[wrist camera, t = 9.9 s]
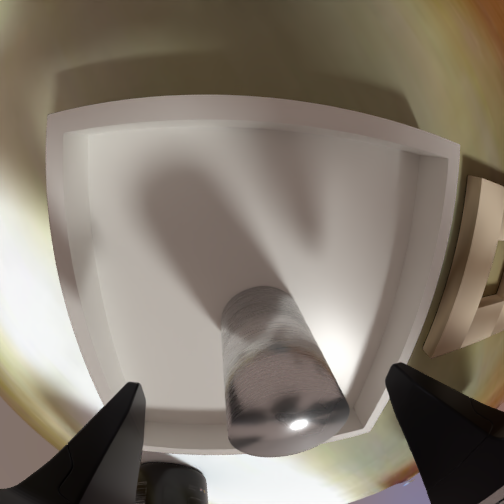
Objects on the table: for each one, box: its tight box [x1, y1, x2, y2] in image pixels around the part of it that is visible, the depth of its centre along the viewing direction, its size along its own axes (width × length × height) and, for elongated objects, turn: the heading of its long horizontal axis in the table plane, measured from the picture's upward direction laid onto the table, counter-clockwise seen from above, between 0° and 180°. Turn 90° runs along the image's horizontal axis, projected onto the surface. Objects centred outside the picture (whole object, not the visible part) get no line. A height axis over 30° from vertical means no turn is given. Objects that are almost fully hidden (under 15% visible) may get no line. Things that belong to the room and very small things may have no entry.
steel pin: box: [221, 286, 350, 457], centre depth 9 cm, size 4×4×6 cm
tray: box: [46, 95, 460, 455], centre depth 11 cm, size 18×16×2 cm
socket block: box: [422, 175, 504, 359], centre depth 14 cm, size 12×12×1 cm
